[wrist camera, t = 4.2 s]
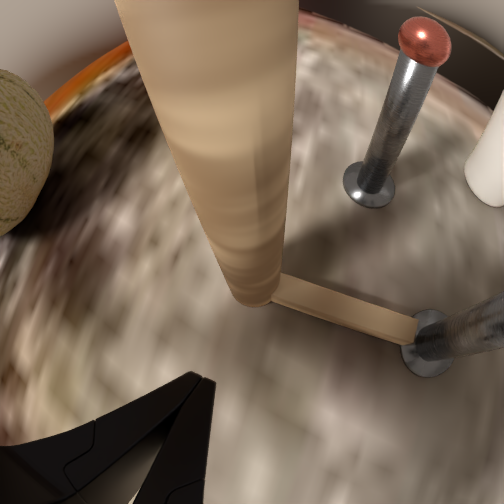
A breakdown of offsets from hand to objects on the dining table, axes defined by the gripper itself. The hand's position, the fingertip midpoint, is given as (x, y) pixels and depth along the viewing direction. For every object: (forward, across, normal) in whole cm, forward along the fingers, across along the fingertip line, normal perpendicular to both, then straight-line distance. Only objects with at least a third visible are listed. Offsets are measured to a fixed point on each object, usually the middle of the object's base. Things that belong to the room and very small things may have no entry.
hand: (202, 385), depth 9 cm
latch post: (+18, -4, -4) cm, 19 cm away
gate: (+10, -3, +2) cm, 11 cm away
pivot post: (+11, -11, +2) cm, 15 cm away
